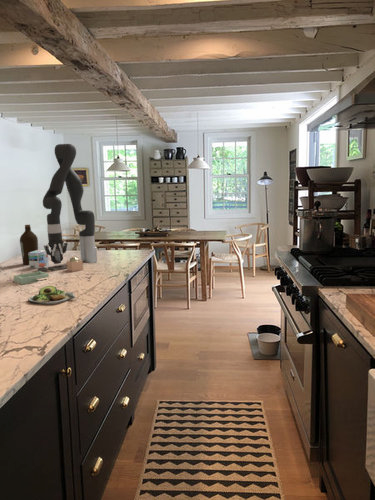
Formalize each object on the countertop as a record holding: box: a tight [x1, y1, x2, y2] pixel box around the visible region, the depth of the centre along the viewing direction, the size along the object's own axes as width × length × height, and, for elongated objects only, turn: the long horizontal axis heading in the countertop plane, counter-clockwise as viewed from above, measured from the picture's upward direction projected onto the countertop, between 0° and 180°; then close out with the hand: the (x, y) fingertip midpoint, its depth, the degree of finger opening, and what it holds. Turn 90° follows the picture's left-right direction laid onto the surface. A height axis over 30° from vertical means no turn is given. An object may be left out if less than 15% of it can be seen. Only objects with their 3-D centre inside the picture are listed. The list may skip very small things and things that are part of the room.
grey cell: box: [53, 249, 62, 265], centre depth 222 cm, size 4×4×8 cm
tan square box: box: [66, 259, 84, 272], centre depth 218 cm, size 6×6×7 cm
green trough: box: [13, 271, 49, 285], centre depth 201 cm, size 14×10×3 cm
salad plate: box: [27, 285, 76, 305], centre depth 166 cm, size 19×18×5 cm
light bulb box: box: [28, 249, 50, 269], centre depth 230 cm, size 11×7×11 cm, turn 168°
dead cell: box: [69, 256, 79, 262], centre depth 218 cm, size 4×4×8 cm
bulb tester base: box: [31, 264, 67, 273], centre depth 220 cm, size 18×10×3 cm, turn 135°
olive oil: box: [19, 224, 39, 266], centre depth 247 cm, size 11×11×25 cm
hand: (57, 261), depth 222 cm, fingers closed on grey cell, 4 cm apart
